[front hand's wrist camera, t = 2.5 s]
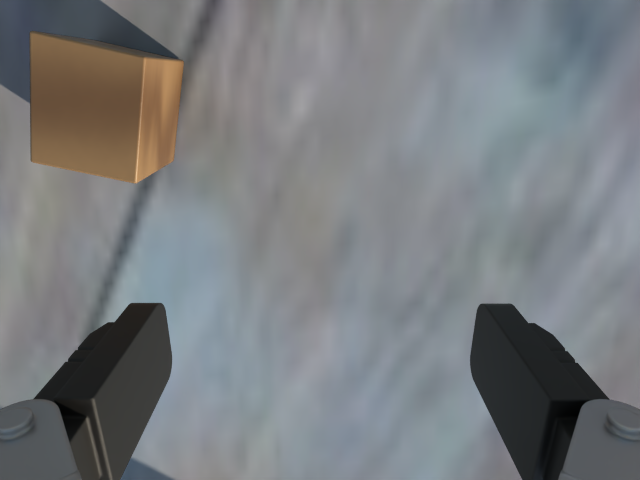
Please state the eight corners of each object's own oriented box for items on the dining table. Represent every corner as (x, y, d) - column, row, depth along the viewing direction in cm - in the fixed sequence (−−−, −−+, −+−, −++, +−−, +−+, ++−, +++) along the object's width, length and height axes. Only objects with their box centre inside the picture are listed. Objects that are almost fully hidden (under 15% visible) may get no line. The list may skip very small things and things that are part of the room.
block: (174, 161, 22) (136, 184, 17) (90, 143, 22) (29, 162, 17) (184, 60, 20) (145, 56, 16) (94, 40, 20) (28, 29, 15)
